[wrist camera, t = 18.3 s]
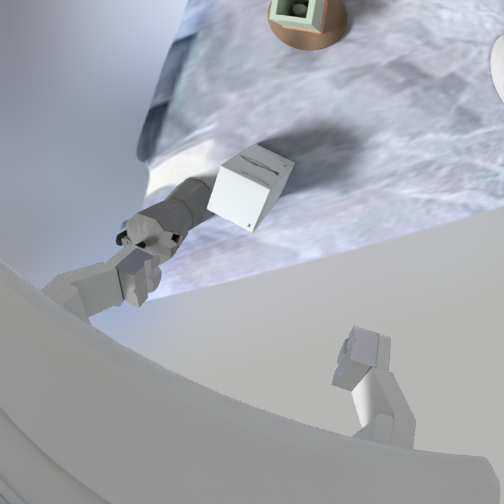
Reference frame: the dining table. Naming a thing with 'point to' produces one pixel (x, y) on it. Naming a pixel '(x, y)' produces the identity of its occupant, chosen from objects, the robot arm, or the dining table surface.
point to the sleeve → (312, 23)
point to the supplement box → (249, 186)
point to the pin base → (313, 41)
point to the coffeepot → (168, 220)
